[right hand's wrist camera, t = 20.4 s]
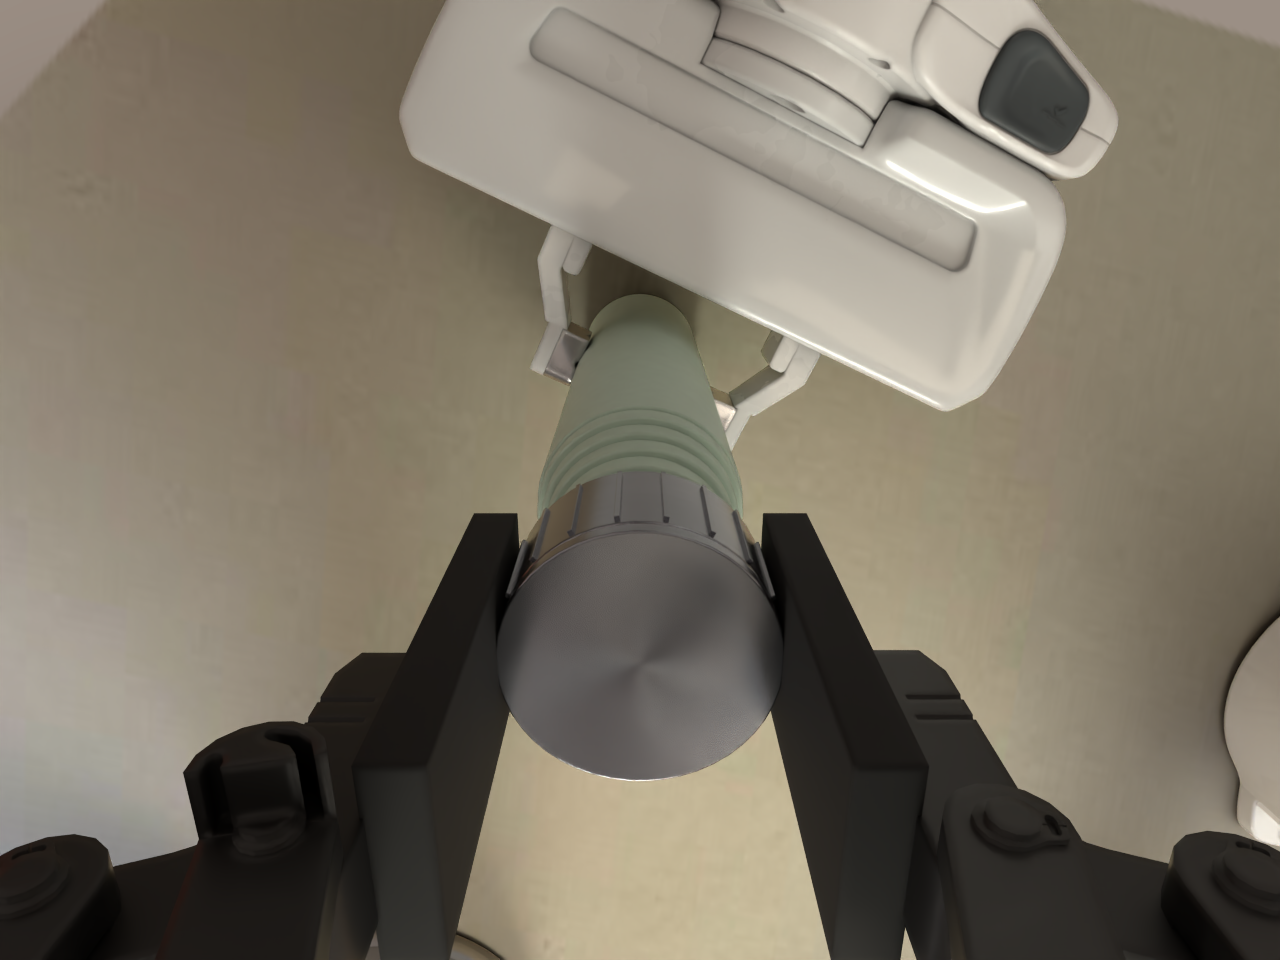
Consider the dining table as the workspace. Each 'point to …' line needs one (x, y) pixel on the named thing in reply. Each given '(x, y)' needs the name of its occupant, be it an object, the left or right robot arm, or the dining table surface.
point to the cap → (640, 629)
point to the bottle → (640, 406)
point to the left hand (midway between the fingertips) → (630, 410)
